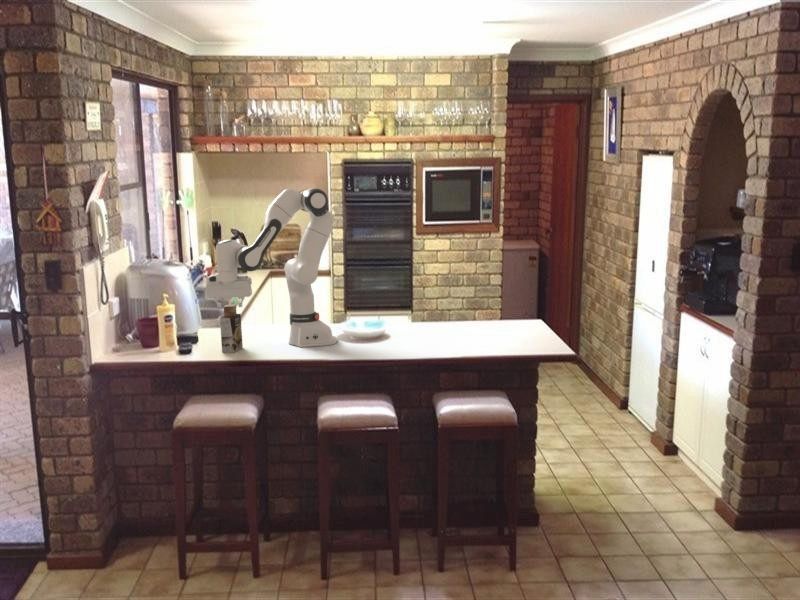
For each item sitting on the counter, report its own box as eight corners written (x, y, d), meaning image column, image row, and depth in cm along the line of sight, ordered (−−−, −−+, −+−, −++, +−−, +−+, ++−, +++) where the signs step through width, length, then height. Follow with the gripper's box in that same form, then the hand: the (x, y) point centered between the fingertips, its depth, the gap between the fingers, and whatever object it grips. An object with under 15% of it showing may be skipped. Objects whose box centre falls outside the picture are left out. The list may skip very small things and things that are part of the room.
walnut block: (236, 314, 333) (235, 304, 332) (234, 316, 329) (233, 306, 328) (226, 314, 333) (225, 304, 332) (224, 316, 329) (223, 306, 328)
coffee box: (235, 353, 329) (232, 317, 326) (221, 352, 330) (219, 317, 327) (243, 347, 338) (241, 313, 335) (230, 347, 339) (227, 313, 336)
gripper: (252, 274, 331) (254, 304, 333) (206, 276, 331) (209, 306, 333) (249, 276, 325) (252, 307, 327) (203, 278, 324) (205, 309, 327)
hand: (229, 307), depth 330 cm, fingers open, 8 cm apart
